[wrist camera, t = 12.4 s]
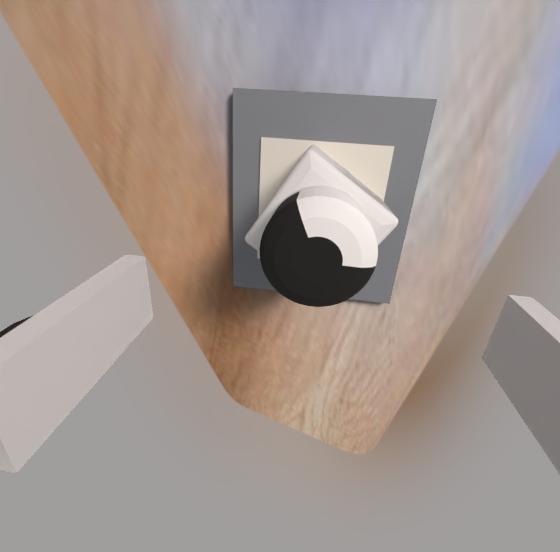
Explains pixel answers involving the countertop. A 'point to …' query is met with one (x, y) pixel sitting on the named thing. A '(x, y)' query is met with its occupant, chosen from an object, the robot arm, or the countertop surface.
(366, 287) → the board
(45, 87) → the countertop surface
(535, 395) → the robot arm
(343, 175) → the container
